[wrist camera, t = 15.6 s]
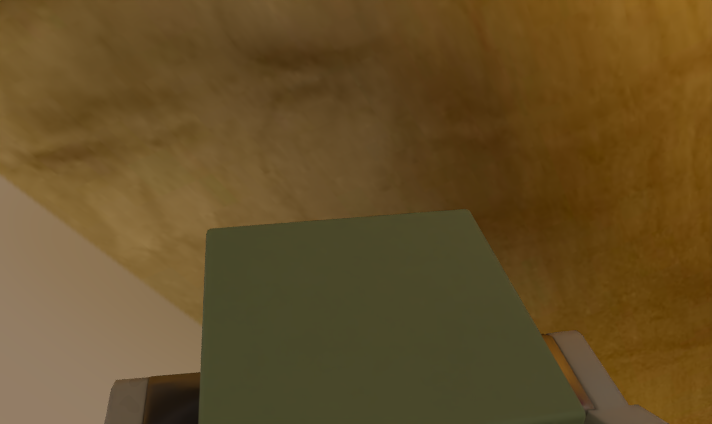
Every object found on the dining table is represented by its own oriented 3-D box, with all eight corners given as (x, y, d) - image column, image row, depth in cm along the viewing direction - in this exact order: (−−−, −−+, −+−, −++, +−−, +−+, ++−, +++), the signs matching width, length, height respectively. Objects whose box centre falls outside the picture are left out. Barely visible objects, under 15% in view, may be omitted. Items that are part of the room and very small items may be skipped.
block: (469, 206, 11) (590, 413, 7) (444, 384, 13) (526, 606, 10) (206, 226, 10) (195, 465, 7) (229, 410, 13) (231, 658, 9)
